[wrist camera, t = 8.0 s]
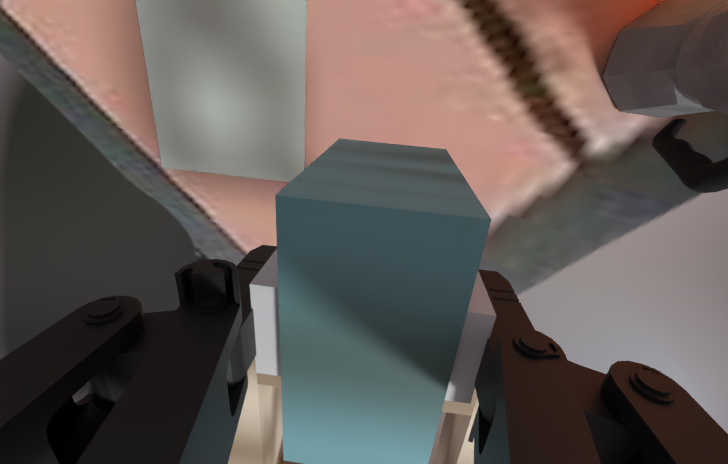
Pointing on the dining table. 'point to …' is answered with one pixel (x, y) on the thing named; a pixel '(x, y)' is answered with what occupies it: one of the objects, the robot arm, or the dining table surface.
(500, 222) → the dining table surface
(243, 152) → the mat
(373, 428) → the sponge holder
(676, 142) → the coffeepot
